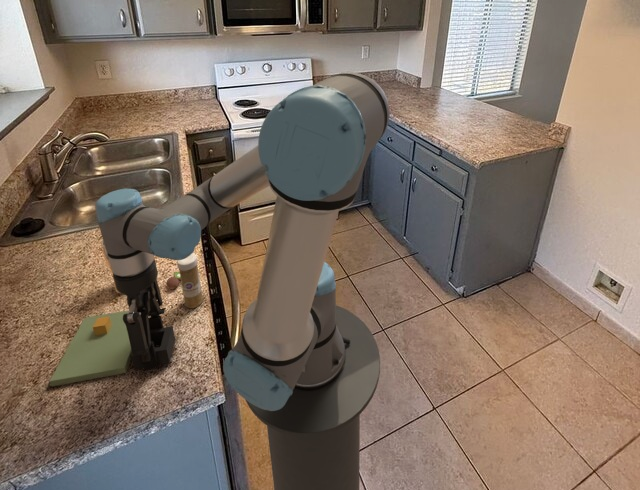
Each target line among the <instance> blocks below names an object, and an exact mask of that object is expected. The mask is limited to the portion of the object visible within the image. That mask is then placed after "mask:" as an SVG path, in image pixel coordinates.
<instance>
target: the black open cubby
mask: <svg viewBox="0 0 640 490" xmlns="http://www.w3.org/2000/svg"><path fill="white" fill-rule="evenodd" d="M163 327H164V326H163ZM150 338H151V341H153V343H154V347H155V351H156V356H157V360H158V364H159V366H158V367H161V366H165V365H170V363H171V361H172V356H173V352H174V347H175V344H176V341H177V340H176V336H175V330H174V326H173V325H170V326H165V327H164V328H160V329H154V330H150ZM130 361H131V363H132V368H133V370H134V371H138V370H144V368H143V364H142V361H141V357H140V355H135V356H133V354H132V353H131V360H130Z"/></svg>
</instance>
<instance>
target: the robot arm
mask: <svg viewBox="0 0 640 490" xmlns="http://www.w3.org/2000/svg"><path fill="white" fill-rule="evenodd" d="M390 114H391V113H390V104H389V100H388V97H387V95H386V93H385V91H384V90H383V89H382V87H381V86H380V84H379V83H377V82H376V80H374V79H373V78H371V77H369V76H368V75H364V74H361V73H359V72H352V71H351V72H350V71H349V72H348V71H347V72H339V73H336V74H334V75H330V76H329V77H327V78H325V79H323V80H321V81H319V82H316V83H315V84H313V85H308V86H304V87H301V88H299V89H297V90H295V91H293V92H291V93H289V94H288V95H286V97H285V98H283V99H282V100H281V101H279V102H278V103H277V104H275V106H274V107H272V109H270V111H269V113H267V115H266V116H265V119H264V120H263V122H262V124H261V126H260V130H259V134H258V142H257V145H256V146H255V147H253V148H251V149H250V150H249V151H247V152H246V153H244V154H243V155H241V156H240V157H239V158H237V159H235V160H234V161H232V163H230V164H228V165H227V166H226V167H224V168H222V170H220V171H219V172H217V173H215V174H214V175H213V176H211V177H209V179H207V180H205V181H204V182H202V183H201V184H198V186H196V187H195V188H193V189H192V190H190V191H189V192H187V193H186V194H183V195H182V196H180V197H179V198H177V199H176V200H174V201H172V202H171V203H169V204H168V205H166V206H164V207H163V208H155V207H150V206H147V205H144V199H143V198H142V196H141V194H140V192H139V191H138V190H137V189H135V188H120V189H116V190H113V191H110V192H108V193H105V194H103V195H102V196H101V197H99V198H98V199H97V201H96V202H95V205H94V208H95V212H96V213H95V214H96V218H97V220H96V223H97V225H98V229H99V231H100V235H101V238H102V241H103V242H104V245H105V248H106V251H107V256H106V258H107V259H109V262H110V266H111V270H112V272H113V275H112V278H113V282H114V286H115V285H116V289H117V290H118V291H119V292H120V293H122V294H121V295H125V296H126V303H127V306H128V311H129V313H128V314H124V315H123V321H124V323H125V325H126V328H127V332H128V337H129V341H130V345H131V349H132V354H133V356H135V355H140V357H141V361H142V364H143V368H144V369H143V371H150V370H155V369H158V368H159V367H160V366H159V364H158V360H157V356H156V351H155V348H156V347H154V343H153V341H151V338H150V330H154V329H160V328H164V322H163V318H162V315H165V307H163V308H161V307H162V306H163V303H164V302H163V298H162V294H161V291H160V287H159V282H158V275H159V271H158V267H157V261H156V259H155V257H156V258H157V257H158V258H159V259H167V260H173V261H177V260H182V259H185V258H187V257H188V256H190V255H191V254H192V253H193V254H194V252H195V249H196V247H197V246H198V245H199V244H200V242H201V237H202V230H204V229H205V228H206V227H207V226H209V224H211V223H212V222H213V221H215V220H216V219H218V218H220V216H221V215H223V214H225V213H226V212H227V211H229V210H231V209H233V208H234V207H236V206H238V205H239V204H242V202H245V201H246V200H248V199H250V198H251V197H253V196H254V195H256V194H258V193H260V192H261V191H263V190H265V189H267V188H268V187H269V188H270V190H271V191H272V192H273V193H274V195H275V196H276V199H275V204H274V208H273V212H272V213H273V214H272V219H271V224H270V230H269V234H268V238H267V239H268V240H267V244H266V249H265V255H264V259H263V263H262V264H263V265H262V270H261V276H260V279H259V284H258V290H257V296H256V299H254V301H252V302H251V303H250V305H249V306H248V308H247V309H246V311H245V313H244V315H243V317H242V318H243V319H242V323H241V328H240V335H239V337H238V340H237V341H236V343H235V345H234V346H233V347H232V349H230V350H229V351H228V353H227V356H226V357H225V359H224V361H223V364H222V371H223V374H224V377H225V379H226V380H227V382H228V383H229V385H230V386H231V388H232V389H233V390H234V391H235V392H236V393H237V394H238V395H239V396H240V397H241V398H243V399H244V400H245V401H246V400H247V401H248V402H250V403H251V404H253V405H255V406H257V407H259V408H261V409H264V410H269V411H276V410H279V409H281V408H282V407H283V406H284V405H285V404H286V402H287V400H288V398H289V397H290V396H291V395H292V393H293V389H294V388H296V389H299V390H305V391H311V390H317V389H320V388H323V387H325V386H327V385H329V384H330V383H332V382H333V381H334V380H335V379H336V378H337V377H338V376H339V374H340V373H341V371H342V369H343V366H344V362H345V345H344V343H346V344H350V340H349V339H346V338H343V337H342V336H341V334H340V332H339V330H338V328H337V325H336V306H337V301H336V300H337V295H336V291H337V290H336V289H337V288H336V287H337V282H336V277H335V272H334V269H332V268H331V266H330V264H328V263H327V262H326V258H327V254H328V250H329V247H330V244H331V240H332V236H333V233H334V230H335V226H336V222H337V219H338V216H339V212H340V211H343V210H345V209H346V208H348V207H349V206H351V205H352V204H353V203H354V201H355V199H356V197H357V196H356V195H357V193H358V189H359V186H360V183H361V179H362V176H363V173H364V171H365V167H366V163H367V160H368V158H369V156H370V153H371V152H372V151H373V149H374V148H375V147H376V145H377V144H378V143H379V142H380V140H381V139H382V137H383V136H384V135H385V133H386V130H387V128H388V125H389V122H390V117H391V115H390Z"/></svg>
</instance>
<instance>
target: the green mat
mask: <svg viewBox="0 0 640 490" xmlns="http://www.w3.org/2000/svg"><path fill="white" fill-rule="evenodd" d="M128 313H129V310H123V311H115V312H109V313H105V314H104V313H103V314H98V315H91V316H86V317H85V316H84V317H83V320H82V321H81V323H80V325H79V327H78V329H77V331H76V332H75V335H74V336H73V338H72V340H71V342H70V343H69V344H68V346H67V348H66V350H65V352H64V354H63V356H62V358H61V360H60V361H59V363H58V365H57V366H56V369H55V370H54V372H53V374H52V376H51V378H50V379H49V385H50V387H57V386H62V385H68V384H73V383H79V382H84V381H89V380H90V381H91V380H94V379H100V378H104V377H111V376H116V375H122V374H126V373H127V371H128V369H129V366H130V363H131V361H132V360H131V353H132V349H131V345H130V341H129V337H128V332H127V328H126V325H125V323H124V321H123V315H124V314H128Z"/></svg>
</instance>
